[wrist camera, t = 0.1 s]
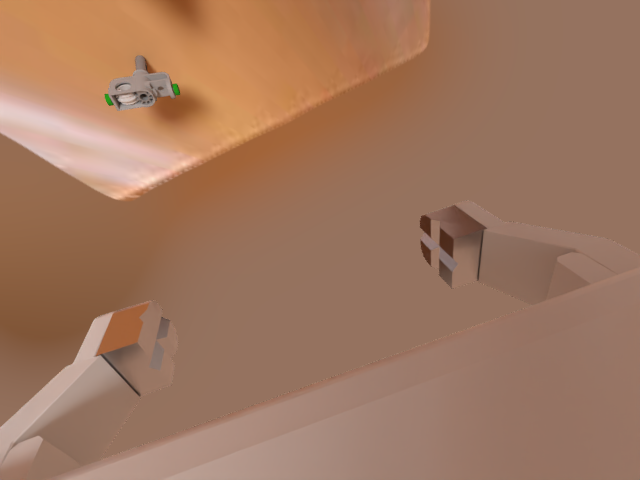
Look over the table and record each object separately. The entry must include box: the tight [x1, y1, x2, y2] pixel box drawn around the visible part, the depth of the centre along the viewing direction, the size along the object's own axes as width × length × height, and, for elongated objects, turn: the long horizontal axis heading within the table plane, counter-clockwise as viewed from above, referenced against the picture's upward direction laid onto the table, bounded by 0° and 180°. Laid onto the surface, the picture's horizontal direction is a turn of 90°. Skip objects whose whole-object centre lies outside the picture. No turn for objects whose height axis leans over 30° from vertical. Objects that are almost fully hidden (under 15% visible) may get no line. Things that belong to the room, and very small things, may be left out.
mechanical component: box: [105, 56, 180, 111], centre depth 51 cm, size 3×10×10 cm, turn 88°
